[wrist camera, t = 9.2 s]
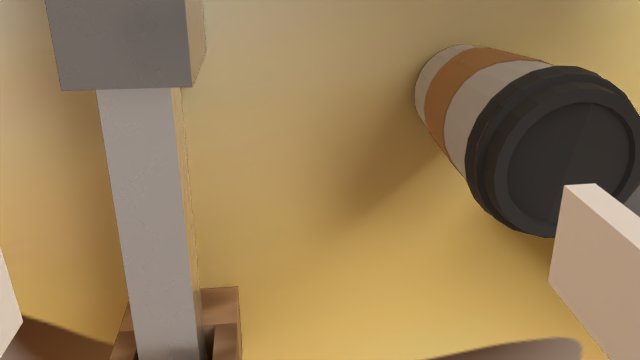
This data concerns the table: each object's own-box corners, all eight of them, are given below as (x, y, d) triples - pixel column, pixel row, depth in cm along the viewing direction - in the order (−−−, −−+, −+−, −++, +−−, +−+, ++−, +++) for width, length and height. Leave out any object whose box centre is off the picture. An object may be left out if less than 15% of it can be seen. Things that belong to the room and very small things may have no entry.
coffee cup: (385, 136, 39) (460, 238, 26) (415, 17, 36) (517, 60, 23) (492, 153, 41) (616, 256, 27) (529, 40, 38) (689, 92, 24)
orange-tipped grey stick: (173, 10, 30) (164, 18, 26) (209, 376, 39) (206, 416, 36) (101, 11, 29) (82, 19, 26) (156, 380, 39) (147, 422, 35)
